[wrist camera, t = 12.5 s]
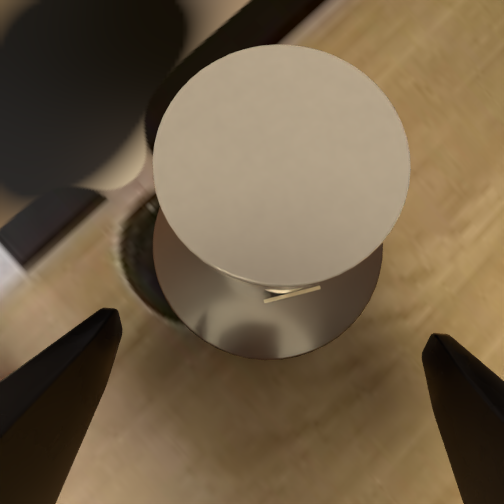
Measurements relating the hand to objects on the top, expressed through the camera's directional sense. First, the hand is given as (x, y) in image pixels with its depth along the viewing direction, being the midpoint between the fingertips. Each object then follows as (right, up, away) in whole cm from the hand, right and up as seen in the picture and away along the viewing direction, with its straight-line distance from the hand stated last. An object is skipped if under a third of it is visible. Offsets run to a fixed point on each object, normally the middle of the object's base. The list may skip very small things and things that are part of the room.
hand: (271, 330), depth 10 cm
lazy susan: (0, +3, +11) cm, 12 cm away
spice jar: (0, +3, +9) cm, 10 cm away
